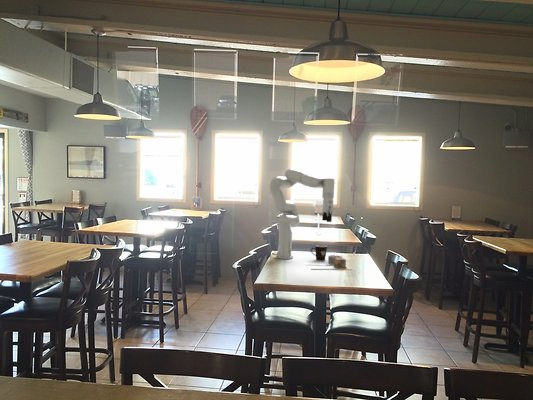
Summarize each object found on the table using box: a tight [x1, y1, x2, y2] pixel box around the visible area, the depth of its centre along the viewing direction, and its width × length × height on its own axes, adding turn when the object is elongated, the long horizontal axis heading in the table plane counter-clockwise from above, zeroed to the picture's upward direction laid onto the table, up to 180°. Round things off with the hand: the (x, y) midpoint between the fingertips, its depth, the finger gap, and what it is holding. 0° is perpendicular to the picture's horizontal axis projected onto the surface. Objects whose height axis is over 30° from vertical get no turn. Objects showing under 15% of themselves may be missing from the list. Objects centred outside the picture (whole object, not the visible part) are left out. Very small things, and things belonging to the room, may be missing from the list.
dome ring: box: [327, 254, 343, 265], centre depth 307 cm, size 9×9×5 cm
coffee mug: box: [310, 244, 328, 261], centre depth 319 cm, size 12×9×10 cm
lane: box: [310, 264, 352, 271], centre depth 292 cm, size 27×15×1 cm, turn 99°
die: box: [333, 257, 347, 269], centre depth 293 cm, size 6×6×6 cm
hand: (326, 221), depth 296 cm, fingers open, 9 cm apart
